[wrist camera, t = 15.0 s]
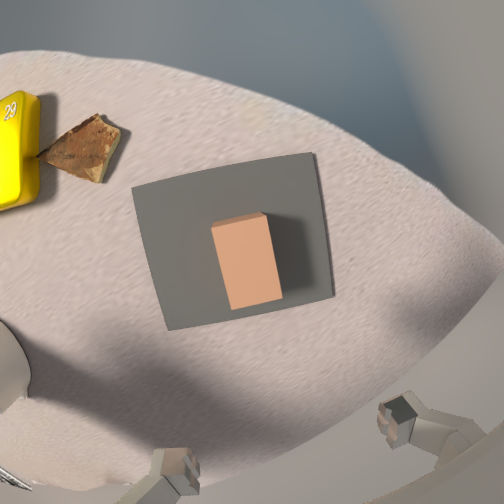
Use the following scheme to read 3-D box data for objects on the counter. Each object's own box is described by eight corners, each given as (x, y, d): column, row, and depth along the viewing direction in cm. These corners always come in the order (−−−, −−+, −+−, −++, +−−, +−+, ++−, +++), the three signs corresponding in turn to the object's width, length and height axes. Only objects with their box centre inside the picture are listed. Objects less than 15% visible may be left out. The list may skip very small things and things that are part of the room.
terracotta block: (231, 309, 27) (211, 228, 25) (230, 292, 32) (213, 222, 30) (282, 298, 27) (266, 215, 25) (274, 282, 32) (259, 211, 30)
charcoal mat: (169, 328, 33) (168, 330, 32) (133, 188, 29) (131, 188, 28) (331, 295, 34) (332, 297, 33) (310, 152, 30) (311, 152, 29)
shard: (41, 158, 27) (33, 157, 26) (64, 103, 26) (57, 99, 24) (102, 186, 29) (95, 186, 27) (129, 125, 28) (123, 122, 26)
